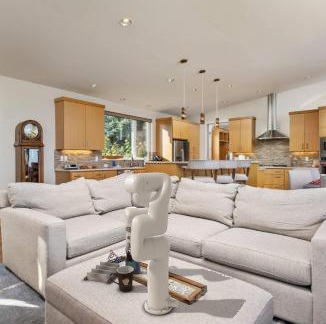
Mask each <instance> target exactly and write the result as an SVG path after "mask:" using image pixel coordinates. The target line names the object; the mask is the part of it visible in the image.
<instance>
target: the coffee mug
mask: <svg viewBox="0 0 326 324" xmlns="http://www.w3.org/2000/svg"><path fill="white" fill-rule="evenodd" d="M116 272H117V274H116V273H112V274H110V276H109V278H108V279H110V280H111V282H112V283H114V284H116V285H117V286H118V290H119V292H120V293H121V292H122V293H129V292H131V291H132V290H133V283H134V282H133V281H134V274H133V272H134V268H133V267H131V266H125V265H123V266H120V267H119V268H118V269H117V271H116ZM114 274H115V275H116V277H117V281H115V280H114V279H113V280H112V279H111V278H110V277H111V275H112V276H113V275H114Z"/></svg>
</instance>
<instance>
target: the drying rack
mask: <svg viewBox="0 0 326 324" xmlns="http://www.w3.org/2000/svg"><path fill="white" fill-rule="evenodd" d="M120 265H121V264H120V263H114V262H105V261H100V262H99V264H96V265H95V268H91V271H87V272H86V276H85V277H83V281H95V282H102V283H106V284H108V285H109V284H110V283H111V282H112V281H111V280H110V278H111V279H112V280H113V281H114V280H115V278H116V277H117V276H116V275H115V274H112V273H116V274H117V269H118V268H119V267H121V266H120ZM110 274H112V275H111V277H110V278H109V276H110Z"/></svg>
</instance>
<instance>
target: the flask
mask: <svg viewBox="0 0 326 324" xmlns="http://www.w3.org/2000/svg"><path fill="white" fill-rule="evenodd" d="M124 261H125V262H124V263H125V264H124V266H131V267H133V268H134V272H133V275H140V274H141V271H142V270H141V269H142V268H141V266H142V265H141V262H136V261H134V260H133V258H132V262H129V261H127V257H126V256H125V258H124Z"/></svg>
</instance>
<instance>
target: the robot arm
mask: <svg viewBox="0 0 326 324" xmlns="http://www.w3.org/2000/svg"><path fill="white" fill-rule="evenodd" d="M124 189H125V191H126V192H127V193H128V194H133V195H132V200H133V203H135V204H136V205H138V206H141V207H142V208H138V207H136V206H127V207H126V208H125V209H124V228H125V230H124V232H125V248H124V250H125V255H126V256H125V257H127V261H129V262H132V258H133V260H134V261H136V262H140V263H141V262H142V263H143V262H148V264H147V266H146V277H147V278H146V281H147V285H146V286H147V299H146V300H145V301H144V304H143V305H144V309H145V311H146V312H147V313H149V314H151V315H154V316H155V315H156V316H158V315H159V316H161V315H166V314H168V313H169V312H171V311H172V310H173V308H179V301H178V299H176V298H175V299H173V298H172V296H171V295H172V294H170V284H169V280H170V279H169V260H170V259H169V258H170V254H171V242H170V240H169V239H168V237H167V236H164V234H166V233H167V231H168V227H169V209H170V208H169V206H170V201H171V200H170V199H171V197H172V193H173V180H172V178H171V176H170V175H169V174H168V173H165V172H157V171H156V172H140V173H139V172H137V173H131V174H129V175H127V176H126V177H125V180H124ZM154 192H156V193H155V194H153V196H152V193H154ZM151 196H152V197H151Z"/></svg>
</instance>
